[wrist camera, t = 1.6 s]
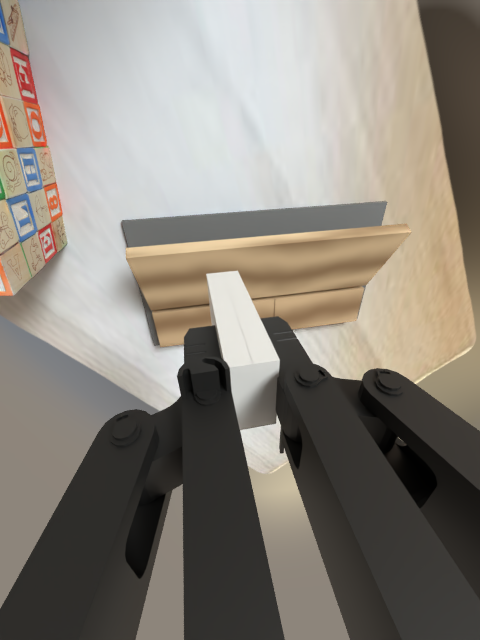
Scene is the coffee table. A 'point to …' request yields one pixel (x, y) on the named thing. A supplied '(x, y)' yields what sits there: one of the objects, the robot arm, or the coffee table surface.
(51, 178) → the stack of blocks
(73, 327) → the coffee table surface
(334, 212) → the underlay
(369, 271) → the board
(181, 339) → the laid plank
